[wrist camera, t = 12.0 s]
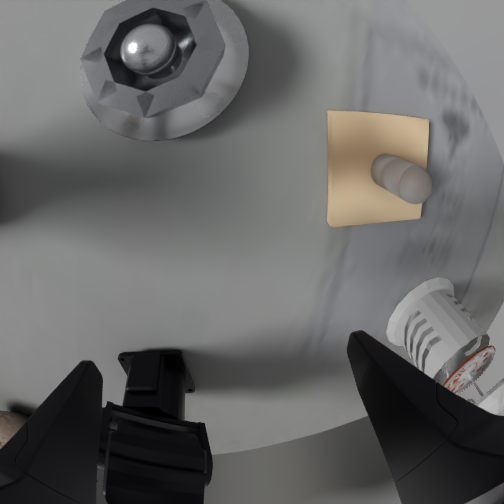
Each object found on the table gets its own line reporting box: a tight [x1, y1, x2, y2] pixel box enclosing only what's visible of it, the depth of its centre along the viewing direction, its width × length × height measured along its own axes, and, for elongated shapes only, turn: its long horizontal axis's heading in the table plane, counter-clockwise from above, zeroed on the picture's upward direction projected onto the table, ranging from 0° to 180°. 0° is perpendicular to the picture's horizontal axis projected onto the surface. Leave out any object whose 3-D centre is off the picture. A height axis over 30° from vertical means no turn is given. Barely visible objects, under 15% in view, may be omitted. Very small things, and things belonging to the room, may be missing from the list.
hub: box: [80, 0, 249, 141], centre depth 11 cm, size 10×10×6 cm
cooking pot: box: [0, 411, 30, 448], centre depth 26 cm, size 25×19×12 cm
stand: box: [327, 110, 433, 227], centre depth 16 cm, size 8×8×6 cm
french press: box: [386, 277, 504, 416], centre depth 17 cm, size 10×12×25 cm
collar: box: [81, 0, 226, 118], centre depth 11 cm, size 7×7×3 cm
